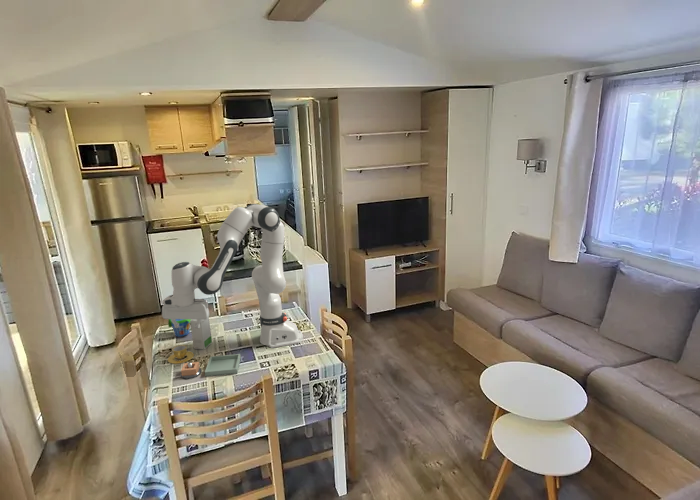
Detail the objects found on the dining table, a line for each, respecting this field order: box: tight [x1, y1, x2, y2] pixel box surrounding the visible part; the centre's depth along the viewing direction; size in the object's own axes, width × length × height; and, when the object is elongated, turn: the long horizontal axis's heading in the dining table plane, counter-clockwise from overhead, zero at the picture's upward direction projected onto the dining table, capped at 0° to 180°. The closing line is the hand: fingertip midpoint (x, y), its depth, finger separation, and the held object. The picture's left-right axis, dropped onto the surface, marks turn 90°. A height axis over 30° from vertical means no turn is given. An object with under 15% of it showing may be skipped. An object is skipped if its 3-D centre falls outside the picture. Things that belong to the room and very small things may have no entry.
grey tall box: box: [190, 316, 213, 350], centre depth 218 cm, size 8×7×16 cm
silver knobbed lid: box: [179, 361, 202, 380], centre depth 194 cm, size 9×9×5 cm
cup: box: [167, 344, 195, 365], centre depth 208 cm, size 12×12×5 cm
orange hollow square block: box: [180, 361, 201, 376], centre depth 194 cm, size 6×6×3 cm
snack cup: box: [167, 319, 192, 338], centre depth 233 cm, size 16×11×10 cm
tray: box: [204, 353, 242, 378], centre depth 199 cm, size 14×14×2 cm
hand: (187, 327), depth 193 cm, fingers open, 8 cm apart
